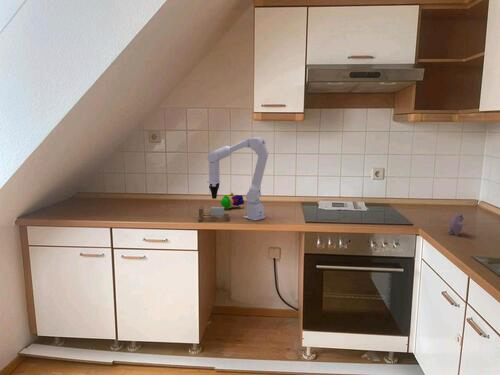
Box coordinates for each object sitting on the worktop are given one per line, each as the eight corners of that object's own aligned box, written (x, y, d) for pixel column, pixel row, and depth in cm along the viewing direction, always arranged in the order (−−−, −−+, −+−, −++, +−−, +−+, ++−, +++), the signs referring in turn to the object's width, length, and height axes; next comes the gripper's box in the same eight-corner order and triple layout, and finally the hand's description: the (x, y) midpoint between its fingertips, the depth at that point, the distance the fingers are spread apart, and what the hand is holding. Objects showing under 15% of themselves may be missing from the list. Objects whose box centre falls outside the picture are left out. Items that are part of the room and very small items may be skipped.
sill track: (229, 218, 204) (229, 205, 203) (229, 221, 197) (229, 208, 196) (200, 218, 203) (199, 206, 202) (199, 221, 196) (198, 209, 195)
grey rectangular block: (224, 217, 201) (224, 207, 200) (224, 218, 199) (224, 207, 198) (211, 218, 200) (211, 207, 199) (211, 218, 199) (210, 208, 198)
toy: (235, 194, 236) (215, 197, 228) (241, 188, 230) (221, 190, 221) (241, 211, 232) (221, 214, 223) (248, 205, 226) (227, 207, 217)
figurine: (466, 238, 168) (469, 216, 166) (452, 238, 169) (454, 215, 167) (456, 231, 179) (459, 210, 178) (443, 230, 180) (445, 209, 179)
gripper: (207, 171, 213) (208, 194, 215) (206, 174, 199) (206, 199, 201) (220, 171, 213) (220, 194, 216) (219, 174, 199) (219, 199, 201)
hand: (214, 197), depth 208 cm, fingers open, 7 cm apart
